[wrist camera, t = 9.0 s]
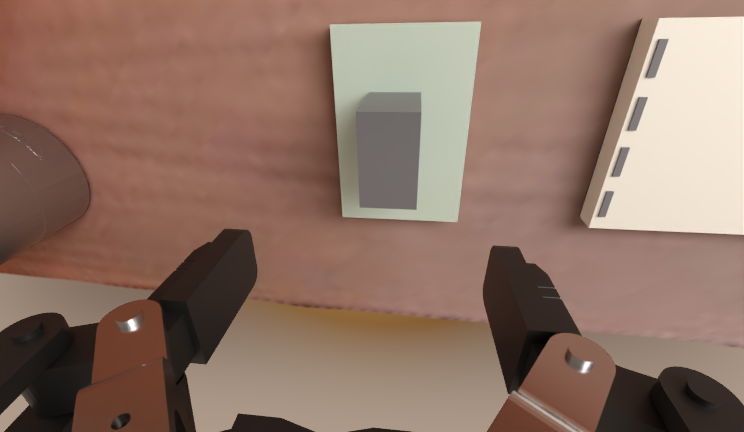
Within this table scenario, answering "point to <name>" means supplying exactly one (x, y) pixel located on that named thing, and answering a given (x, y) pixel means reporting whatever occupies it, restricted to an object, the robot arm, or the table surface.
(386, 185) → the stub
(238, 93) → the table surface
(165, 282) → the robot arm
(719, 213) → the cream panel
